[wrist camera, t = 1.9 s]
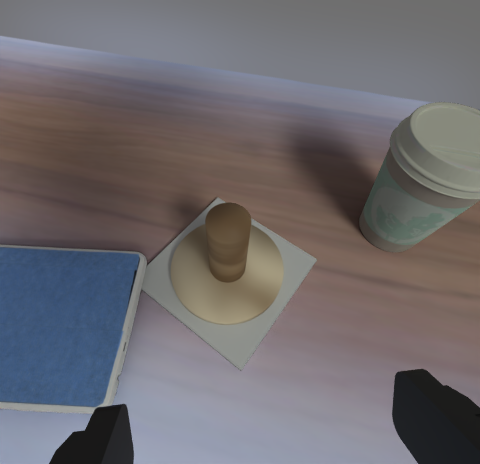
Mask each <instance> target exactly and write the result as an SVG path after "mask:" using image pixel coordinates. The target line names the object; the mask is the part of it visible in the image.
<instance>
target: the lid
mask: <svg viewBox="0 0 480 464" xmlns="http://www.w3.org/2000/svg"><path fill="white" fill-rule="evenodd" d="M283 275H284V266H283V260H282V257H281V254H280V252H279V249H278V247H277V246H276V244H275V243H274V241H273V240H272V239H271V238H270V237H269V236H268V235H267V234H266V233H265V232H263V231H262V230H260V229H259V228H257V227H255V226H253V225H251V216H250V214H249V212H248V211H247V210H246V209H245V208H244V207H242V206H240V205H238V204H235V203H221V204H218V205H216V206H214V207H213V208H212V209H210V211H209V212H208V213H207V215H206V219H205V224H204V225H201V226H199V227H197V228H196V229H194V230H193V231H191V232H190V233H189V234H188V235H186V236H185V237H184V239H183V240H182V241H181V242H180V244H179V245H178V247H177V248H176V250H175V252H174V255H173V258H172V262H171V280H172V284H173V287H174V290H175V292H176V295H177V297H178V298H179V300H180V302H181V303H182V304H183V306H184V307H185V308H186V309H187V310H188V311H189V312H191V313H192V314H193V315H195V316H196V317H198V318H200V319H202V320H204V321H207V322H210V323H214V324H219V325H235V324H240V323H244V322H247V321H250V320H252V319H254V318H256V317H258V316H259V315H261V314H262V313H263V312H265V311H266V310H267V309H268V308H269V307H270V306H271V304H272V303H273V302H274V300H275V299H276V297H277V295H278V293H279V290H280V288H281V285H282V281H283Z"/></svg>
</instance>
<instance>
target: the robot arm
mask: <svg viewBox="0 0 480 464" xmlns="http://www.w3.org/2000/svg"><path fill="white" fill-rule="evenodd" d="M392 417H393V422H394V426H395V429H396V431H397V433H398V435H399V437H400V438H401V440H402V441H403V443H404V444H405V446H406V447H407V448H408V450H409V451H410V453H411V454H412V455H413V457H414V458H415V460H416V461H417V462H418V464H480V408H479V407H478V406H477V405H476V404H475V403H474V402H473V401H471V400H470V399H469V398H468V397H466V396H465V395H463V394H461V393H459V392H458V391H456V390H454V389H452V388H451V387H449V386H447V385H445V386H443V385H442V384H441V383H440V382H439V381H438V380H436V379H435V378H434V377H433V376H432V375H431V374H430V373H429V372H428V371H426V370H424V369H417V370H408V371H400V372H397V373H396V375H395V383H394V397H393V410H392ZM133 460H134V450H133V442H132V435H131V429H130V422H129V416H128V410H127V406H126V405H125V404H120V405H112V406H104V407H97V408H96V409H95V410H94V412H93V414H92V416H91V418H90V421H89V423H88V425H87V427H86V429H85V431H77V432H73V433H72V434H71V435H70V436H69V437H68V438H67V440H66V441H65V442H64V443H63V444H62V445H61V446H60V447H59V448H58V449H57V450H56V451H55V453H54V455H53V457H52V459H51V461H50V463H49V464H133Z"/></svg>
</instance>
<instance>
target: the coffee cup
mask: <svg viewBox="0 0 480 464" xmlns="http://www.w3.org/2000/svg"><path fill="white" fill-rule="evenodd" d="M478 201H480V110H477V109H475V108H472V107H469V106H465V105H461V104H456V103H446V102H437V103H430V104H426V105H423V106H421V107H419V108H418V109H416V110H415V111H414V112H413V113H412V114H411V115H410V116H409V117H407V118H406V119H404V120H403V121H402V122H401V123H400V124H399V125H398V127H397V128H396V129H395V130H394V131H393V133H392V135H391V137H390V148H389V150H388V152H387V155H386V157H385V159H384V162H383V164H382V166H381V169H380V171H379V173H378V176H377V178H376V180H375V183H374V185H373V187H372V190H371V192H370V194H369V197H368V199H367V201H366V204H365V206H364V208H363V211H362V213H361V215H360V218H359V226H360V229H361V232H362V234H363V235H364V237H365V238H366V239H367V240H368V241H369V242H370V243H371V244H373V245H374V246H376V247H378V248H380V249H382V250H385V251H389V252H402V251H406V250H408V249H409V248H411V247H412V246H414V245H415V244H417V243H418V242H420V241H421V240H423V239H424V238H426V237H427V236H429V235H430V234H431V233H433V232H434V231H436V230H437V229H439V228H440V227H442V226H443V225H445V224H446V223H448V222H449V221H450V220H452V219H453V218H455V217H456V216H458V215H459V214H461V213H462V212H464V211H465V210H467V209H468V208H469V207H471V206H472V205H474V204H475V203H477V202H478Z"/></svg>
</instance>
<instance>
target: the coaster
mask: <svg viewBox="0 0 480 464" xmlns="http://www.w3.org/2000/svg"><path fill="white" fill-rule="evenodd" d="M221 203H226V202H224V201H223V200H221V199H220V198H217V199H216V200H215V201H214V202H213V203H212V204H210V205H209V206H208V207H207V208H206V209H205V210H204V211H203V212H202V213H201V214H200V215H199V216H198V217H197V218H196V219H195V220H194V221H193V222H192V223H191V224H190V225H189V226H188V227H187V228H186V229H185V230H184V231H183V232H182V233H180V234H179V235H178V236H177V237H176V238H175V239H174V240H173V241H172V242H171V243H170V244H169V245H168V246H167V247H166V248H165V249H164V250H163V251H162V252H161V253H160V254H159V255H158V256H157V257H156V258H155V259H154V260H153V261H152V262H150V263H149V264H148V265H147V266H146V270H145V275H144V279H143V284H142V288H141V290H143V291H144V292H145V293H146V294H148V295H149V296H150V297H151V298H152V299H154V300H155V301H156V302H157V303H159V304H160V305H161V306H162V307H163V308H165V309H166V310H167V311H168V312H170V313H171V314H172V315H173V316H174V317H176V318H177V319H178V320H179V321H181V322H182V323H183V324H184V325H185V326H187V327H188V328H189V329H190V330H192V331H193V332H194V333H195V334H196V335H198V336H199V337H200V338H201V339H202V340H204V341H205V342H206V343H207V344H209V345H210V346H211V347H212V348H213V349H215V350H216V351H217V352H218V353H220V354H221V355H222V356H223V357H224V358H226V359H227V360H228V361H229V362H231V363H232V364H233V365H234V366H235V367H237V368H238V369H239V370H240V371H241V370H242V369H243V367H244V366H245V364H246V363H247V362H248V360H249V359H250V357H251V356H252V354H253V353H254V351H255V350H256V348H257V347H258V345H259V344H260V343H261V341H262V340H263V338H264V337H265V335H266V334H267V332H268V331H269V329H270V328H271V326H272V325H273V324H274V322H275V321H276V319H277V318H278V316H279V315H280V313H281V312H282V310H283V309H284V307H285V306H286V305H287V303H288V302H289V300H290V299H291V297H292V296H293V294H294V293H295V291H296V290H297V288H298V287H299V286H300V284H301V283H302V281H303V280H304V278H305V277H306V275H307V274H308V272H309V271H310V269H311V268H312V267H313V265H314V264H315V262H316V261H317V259H316V258H314V257H312V256H311V255H309V254H308V253H306V252H304V251H303V250H301V249H300V248H298V247H296V246H295V245H293V244H292V243H290V242H288V241H287V240H285V239H284V238H282V237H280V236H279V235H277V234H276V233H274V232H272V231H271V230H269V229H268V228H266V227H264V226H263V225H261V224H260V223H258V222H256V221H255V220H253V219H252V218H251V225H253V226H255V227H257V228H259V229H260V230H262V231H263V232H265V233H266V234H267V235H268V236H269V237H270V238H271V239H272V240H273V241H274V243H275V244H276V246H277V247H278V249H279V252H280V254H281V257H282V260H283V266H284V275H283V281H282V285H281V288H280V290H279V293H278V295H277V297H276V299H275V300H274V302H273V303H272V304H271V306H270V307H269V308H268V309H267V310H266V311H265V312H263V313H262V314H261V315H259V316H258V317H256V318H254V319H252V320H250V321H247V322H244V323H240V324H235V325H219V324H214V323H210V322H207V321H204V320H202V319H200V318H198V317H196V316H195V315H193V314H192V313H191V312H189V311H188V310H187V309H186V308H185V307H184V306H183V304H182V303H181V302H180V300H179V298H178V297H177V295H176V292H175V290H174V287H173V284H172V280H171V262H172V258H173V255H174V252H175V250H176V248H177V247H178V245H179V244H180V242H181V241H182V240H183V239H184V237H185V236H186V235H188V234H189V233H190V232H191V231H193V230H194V229H196V228H197V227H199V226H201V225H204V224H205V219H206V215H207V213H208V212H209V211H210V209H212V208H213V207H214V206H216V205H218V204H221Z"/></svg>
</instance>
